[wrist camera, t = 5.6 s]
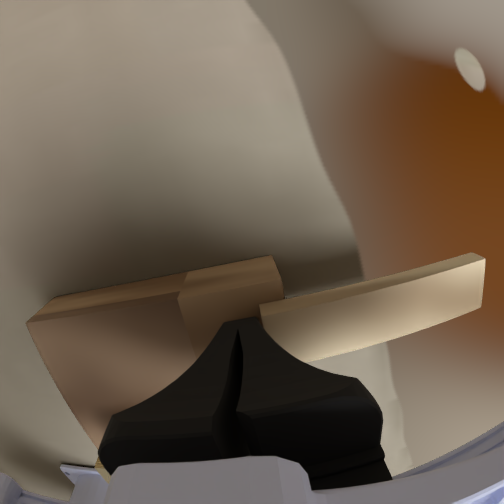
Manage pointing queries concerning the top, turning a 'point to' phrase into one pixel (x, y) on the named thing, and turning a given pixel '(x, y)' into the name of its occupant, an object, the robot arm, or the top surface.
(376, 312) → the beige wooden plank
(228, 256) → the top surface
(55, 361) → the lid
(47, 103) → the top surface
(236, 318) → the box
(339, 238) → the top surface
